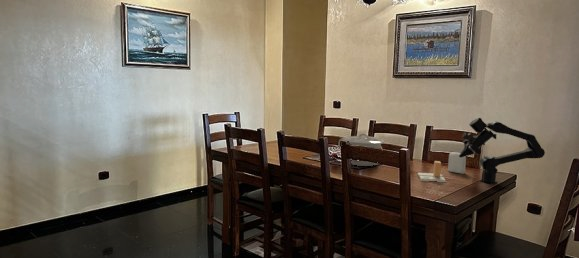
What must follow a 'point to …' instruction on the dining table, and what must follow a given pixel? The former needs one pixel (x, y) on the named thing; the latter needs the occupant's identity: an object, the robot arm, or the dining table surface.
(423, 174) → the switch panel
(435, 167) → the switch knob
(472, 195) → the dining table surface
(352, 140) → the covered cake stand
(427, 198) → the dining table surface
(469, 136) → the robot arm
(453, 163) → the photo printer
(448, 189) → the dining table surface
